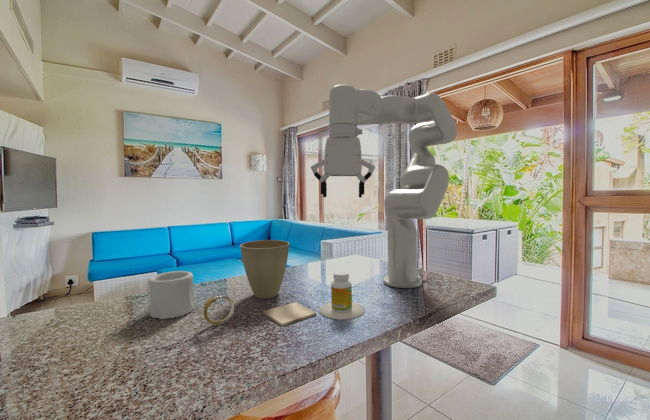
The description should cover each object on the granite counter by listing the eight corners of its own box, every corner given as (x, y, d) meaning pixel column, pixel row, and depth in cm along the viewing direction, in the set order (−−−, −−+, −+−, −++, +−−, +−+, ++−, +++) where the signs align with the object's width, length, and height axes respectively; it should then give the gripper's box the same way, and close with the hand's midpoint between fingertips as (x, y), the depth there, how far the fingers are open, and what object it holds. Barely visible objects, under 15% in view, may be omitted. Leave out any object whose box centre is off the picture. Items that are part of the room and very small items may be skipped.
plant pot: (242, 305, 86) (240, 249, 85) (241, 289, 100) (239, 241, 99) (295, 299, 90) (293, 245, 89) (286, 284, 104) (285, 238, 103)
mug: (201, 310, 83) (199, 274, 82) (158, 324, 75) (156, 284, 74) (181, 299, 92) (179, 267, 91) (141, 310, 84) (138, 274, 84)
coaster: (343, 298, 89) (343, 298, 89) (374, 310, 80) (374, 309, 80) (310, 309, 82) (310, 308, 82) (339, 323, 72) (339, 322, 72)
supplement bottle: (350, 313, 78) (350, 276, 77) (330, 312, 79) (329, 275, 78) (353, 305, 83) (352, 270, 82) (333, 304, 84) (332, 270, 83)
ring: (204, 330, 71) (202, 296, 70) (203, 324, 74) (202, 292, 73) (235, 324, 74) (234, 291, 73) (233, 319, 77) (232, 288, 76)
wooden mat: (295, 304, 86) (294, 302, 86) (316, 314, 78) (316, 312, 78) (262, 313, 80) (262, 311, 80) (282, 326, 72) (282, 323, 72)
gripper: (374, 136, 85) (373, 197, 86) (312, 137, 87) (312, 197, 87) (376, 130, 78) (375, 197, 78) (309, 131, 79) (308, 197, 80)
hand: (342, 197), depth 83 cm, fingers open, 9 cm apart
